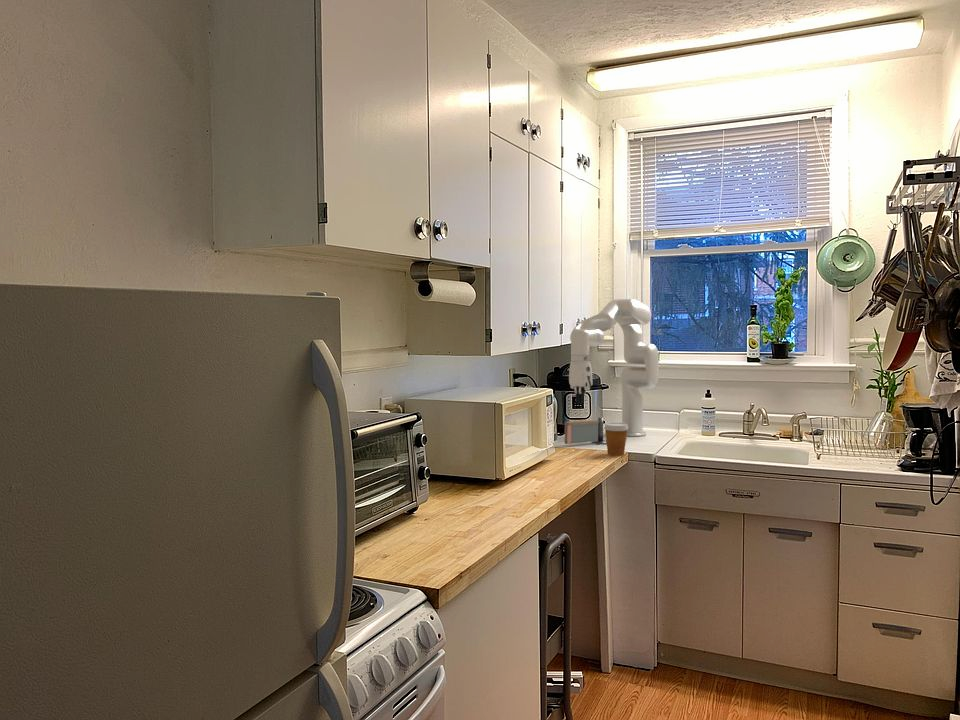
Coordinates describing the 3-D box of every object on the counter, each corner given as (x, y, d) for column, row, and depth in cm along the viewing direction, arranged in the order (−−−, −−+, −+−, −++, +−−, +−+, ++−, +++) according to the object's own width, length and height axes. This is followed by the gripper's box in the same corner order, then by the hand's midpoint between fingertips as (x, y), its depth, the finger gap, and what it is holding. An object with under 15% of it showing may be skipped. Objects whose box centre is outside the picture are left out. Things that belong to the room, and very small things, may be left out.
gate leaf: (595, 440, 318) (595, 419, 317) (598, 441, 316) (598, 420, 315) (564, 443, 310) (564, 422, 309) (567, 444, 308) (567, 422, 307)
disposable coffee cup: (617, 457, 284) (617, 426, 283) (598, 454, 291) (598, 423, 290) (633, 454, 290) (633, 424, 289) (614, 451, 297) (615, 421, 296)
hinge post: (588, 442, 319) (589, 417, 318) (601, 441, 322) (601, 416, 322) (599, 445, 313) (599, 419, 312) (611, 443, 316) (612, 418, 316)
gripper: (599, 359, 301) (599, 404, 302) (574, 358, 313) (574, 401, 314) (585, 360, 296) (585, 405, 297) (561, 358, 309) (561, 402, 310)
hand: (580, 403), depth 306 cm, fingers closed
